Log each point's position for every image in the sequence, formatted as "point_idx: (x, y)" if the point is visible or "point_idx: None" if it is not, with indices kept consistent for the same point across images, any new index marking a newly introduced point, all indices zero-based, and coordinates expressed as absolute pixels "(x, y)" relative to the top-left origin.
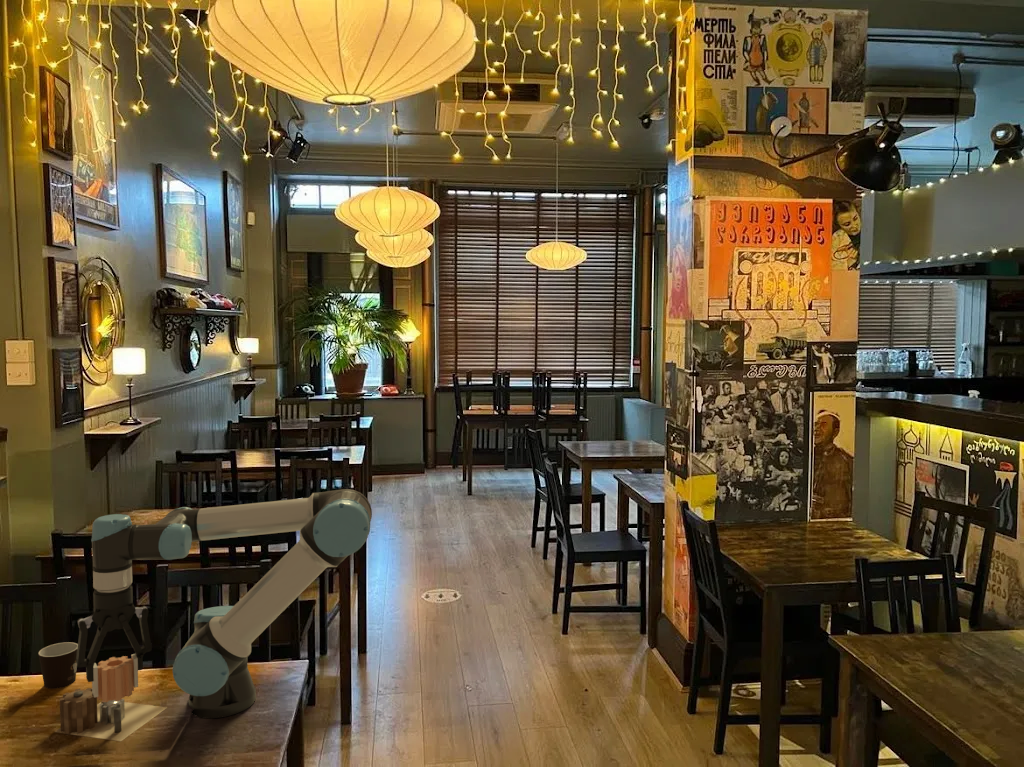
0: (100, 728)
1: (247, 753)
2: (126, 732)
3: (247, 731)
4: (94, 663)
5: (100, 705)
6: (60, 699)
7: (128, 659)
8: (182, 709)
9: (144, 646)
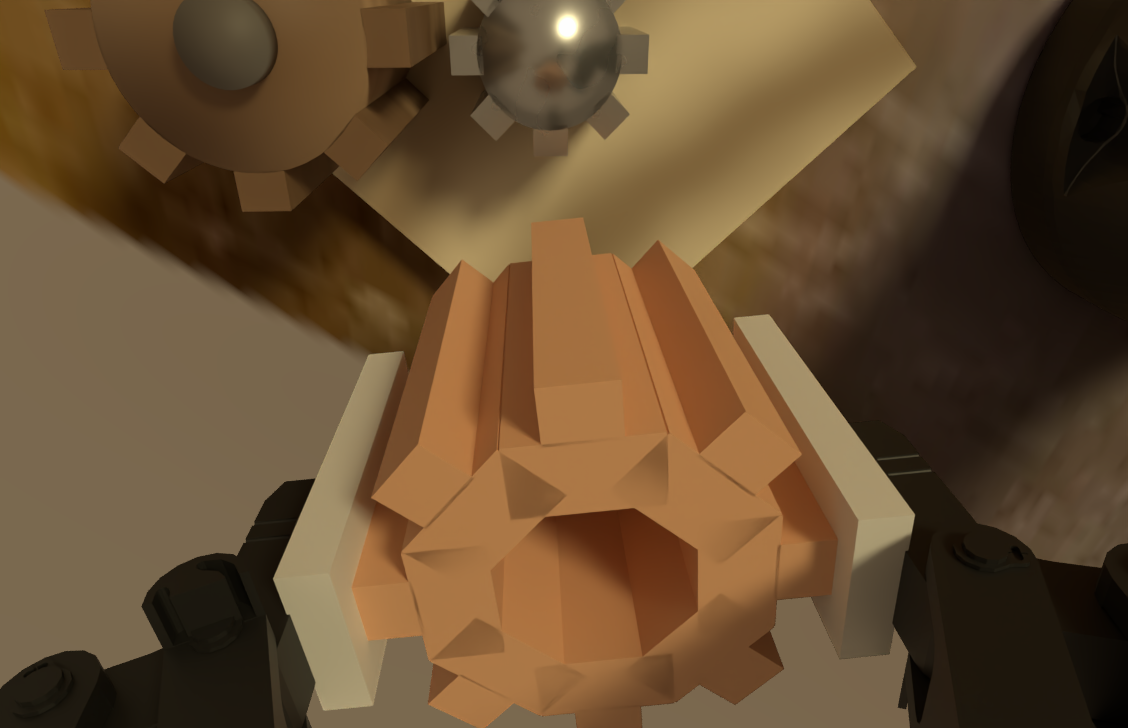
0: (465, 150)
1: None
2: None
3: (1115, 491)
4: (316, 588)
5: (456, 74)
6: (62, 40)
7: (783, 560)
8: (996, 48)
9: (1108, 682)
